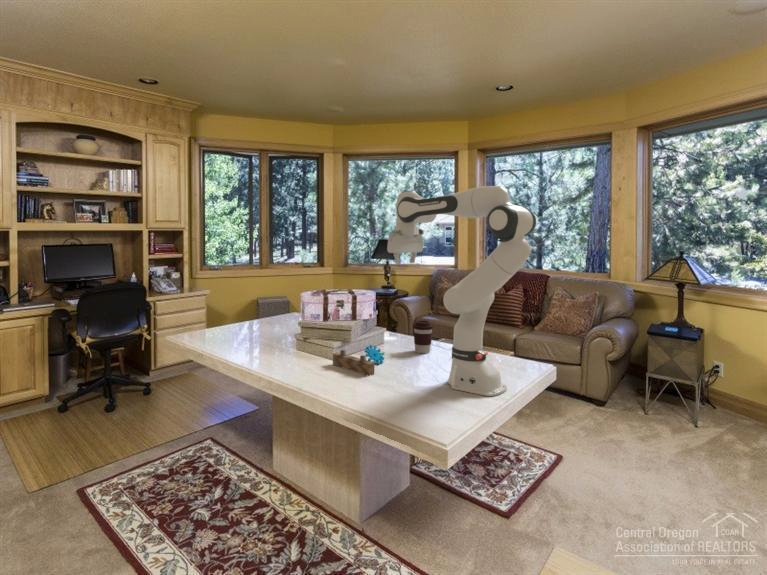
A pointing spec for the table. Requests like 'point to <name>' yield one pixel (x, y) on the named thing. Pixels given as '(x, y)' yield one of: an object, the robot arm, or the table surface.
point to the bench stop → (353, 363)
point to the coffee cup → (422, 336)
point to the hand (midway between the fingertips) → (405, 263)
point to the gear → (374, 354)
